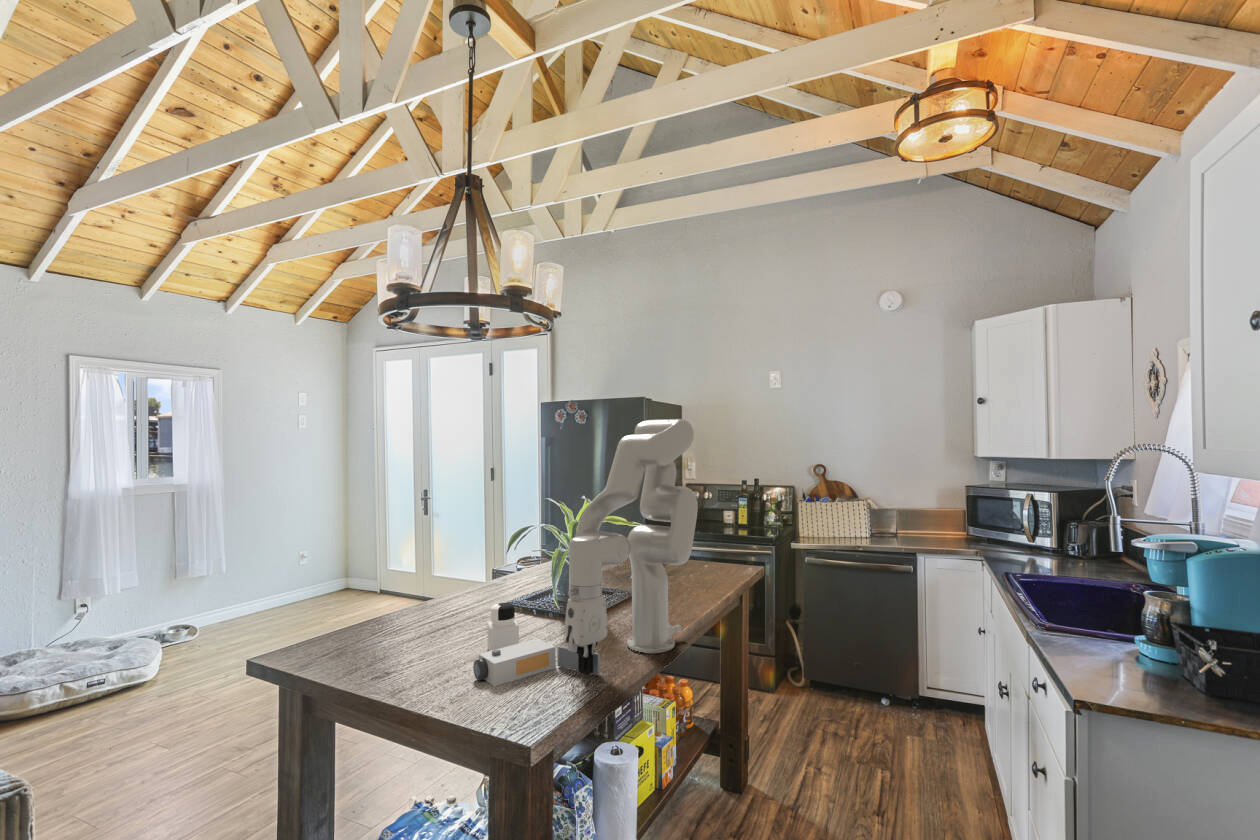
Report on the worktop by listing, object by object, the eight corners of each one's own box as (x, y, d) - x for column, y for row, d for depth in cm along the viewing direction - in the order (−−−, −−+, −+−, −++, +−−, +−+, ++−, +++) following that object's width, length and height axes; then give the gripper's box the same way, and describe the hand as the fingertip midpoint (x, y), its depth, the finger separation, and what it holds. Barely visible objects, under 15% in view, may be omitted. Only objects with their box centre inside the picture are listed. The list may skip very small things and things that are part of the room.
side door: (556, 666, 142) (556, 646, 142) (560, 664, 143) (559, 644, 143) (597, 674, 136) (597, 654, 136) (601, 672, 137) (600, 652, 137)
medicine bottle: (514, 644, 158) (514, 599, 158) (519, 653, 151) (518, 606, 152) (487, 648, 155) (487, 602, 156) (491, 657, 149) (490, 609, 149)
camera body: (538, 658, 147) (538, 635, 148) (555, 667, 141) (555, 643, 141) (471, 677, 136) (471, 652, 136) (487, 688, 130) (487, 662, 130)
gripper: (574, 600, 127) (575, 687, 126) (618, 587, 139) (619, 666, 138) (550, 595, 132) (550, 678, 131) (594, 583, 144) (595, 659, 143)
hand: (585, 672), depth 135 cm, fingers closed
